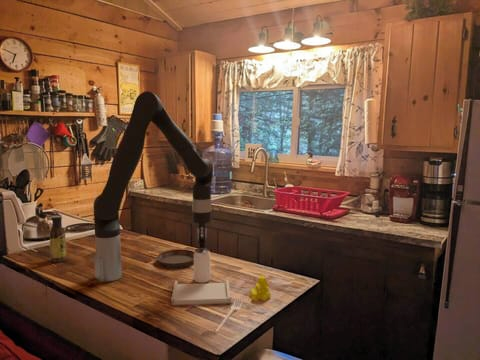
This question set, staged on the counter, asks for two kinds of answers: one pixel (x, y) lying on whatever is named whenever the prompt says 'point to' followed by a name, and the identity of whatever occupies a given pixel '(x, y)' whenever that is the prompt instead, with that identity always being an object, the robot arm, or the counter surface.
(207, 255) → the can
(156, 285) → the counter surface
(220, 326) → the fork
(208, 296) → the tray
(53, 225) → the sauce bottle
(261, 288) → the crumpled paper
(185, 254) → the plant saucer
